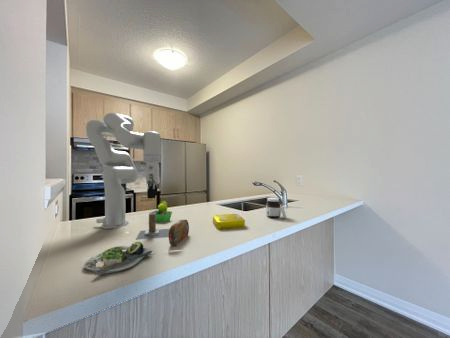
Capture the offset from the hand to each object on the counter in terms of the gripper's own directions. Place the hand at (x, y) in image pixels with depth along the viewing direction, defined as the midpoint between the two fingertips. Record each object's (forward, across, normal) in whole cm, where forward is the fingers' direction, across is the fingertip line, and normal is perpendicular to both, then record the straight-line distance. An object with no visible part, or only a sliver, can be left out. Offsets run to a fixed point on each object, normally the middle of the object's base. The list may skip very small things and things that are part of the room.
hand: (152, 196), depth 90 cm
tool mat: (+18, 0, -2) cm, 18 cm away
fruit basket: (+18, +24, -2) cm, 30 cm away
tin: (+18, -10, -11) cm, 24 cm away
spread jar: (+19, +16, -70) cm, 75 cm away
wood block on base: (+17, 0, 0) cm, 17 cm away
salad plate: (+18, -22, +8) cm, 30 cm away
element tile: (+19, +8, -37) cm, 43 cm away
